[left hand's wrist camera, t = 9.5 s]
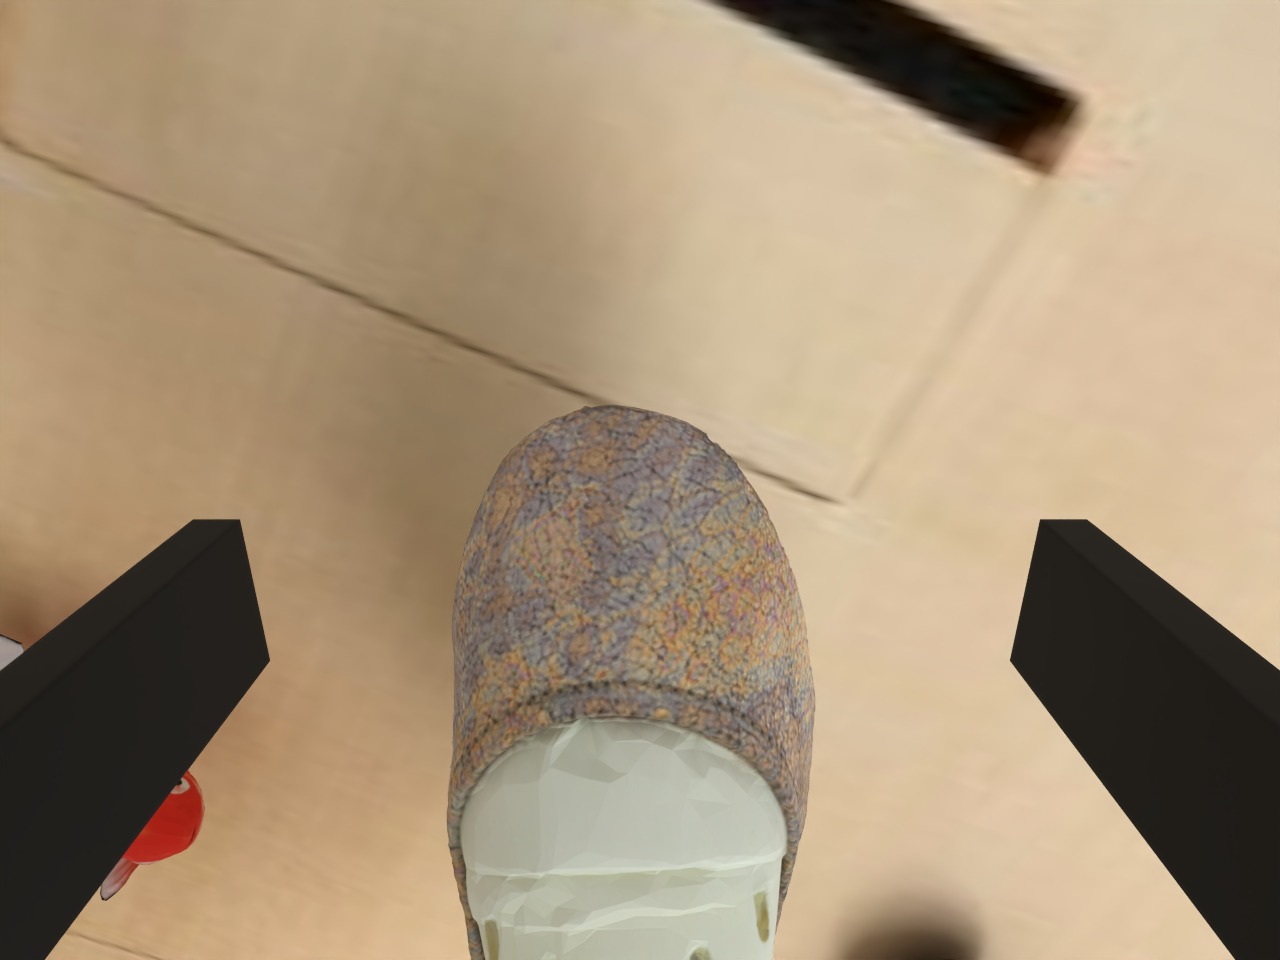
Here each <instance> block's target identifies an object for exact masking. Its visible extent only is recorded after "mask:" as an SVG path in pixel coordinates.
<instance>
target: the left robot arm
mask: <svg viewBox="0 0 1280 960" xmlns="http://www.w3.org/2000/svg"><path fill="white" fill-rule="evenodd" d="M269 661H270V658H269V653H268V649H267V644H266V639H265V635H264V630H263V625H262V621H261V616H260V611H259V607H258V602H257V597H256V593H255V588H254V583H253V579H252V574H251V569H250V565H249V560H248V555H247V551H246V546H245V541H244V537H243V532H242V527H241V522H240V519H193V520H192V521H191V522H189V523H188V524H187V525H185V526H184V527H183V528H182V529H180V530H179V531H178V532H177V533H175V534H174V535H173V536H171V537H170V538H169V539H168V540H166V541H165V542H164V543H162V544H161V545H160V546H159V547H157V548H156V549H155V550H154V551H152V552H151V553H150V554H148V555H147V556H146V557H145V558H143V559H142V560H141V561H139V562H138V563H137V564H136V565H134V566H133V567H132V568H131V569H129V570H128V571H127V572H125V573H124V574H123V575H122V576H120V577H119V578H118V579H116V580H115V581H114V582H113V583H111V584H110V585H109V586H108V587H106V588H105V589H104V590H102V591H101V592H100V593H99V594H97V595H96V596H95V597H93V598H92V599H91V600H90V601H88V602H87V603H86V604H85V605H83V606H82V607H81V608H79V609H78V610H77V611H76V612H74V613H73V614H72V615H70V616H69V617H68V618H67V619H65V620H64V621H63V622H62V623H60V624H59V625H58V626H56V627H55V628H54V629H53V630H51V631H50V632H49V633H47V634H46V635H45V636H44V637H42V638H41V639H40V640H39V641H37V642H36V643H35V644H33V645H32V646H31V647H30V648H28V649H27V650H26V651H24V652H23V653H22V654H21V655H19V656H18V657H17V658H16V659H14V660H13V661H12V662H10V663H9V664H8V665H7V666H5V667H4V668H3V669H1V670H0V960H45V959H46V957H47V956H48V955H49V953H50V952H51V951H52V949H53V948H54V947H55V945H56V944H57V943H58V941H59V940H60V939H61V937H62V936H63V935H64V933H65V932H66V931H67V929H68V928H69V927H70V926H71V924H72V923H73V922H74V920H75V919H76V918H77V916H78V915H79V914H80V912H81V911H82V910H83V908H84V907H85V906H86V904H87V903H88V902H89V900H90V899H91V898H92V896H93V895H94V894H95V892H96V891H97V890H98V888H99V887H100V886H101V884H102V883H103V882H104V880H105V879H106V878H107V876H108V875H109V874H110V872H111V871H112V870H113V868H114V867H115V866H116V864H117V863H118V862H119V860H120V859H121V858H122V856H123V855H124V854H125V853H126V851H127V850H128V849H129V847H130V846H131V845H132V843H133V842H134V841H135V839H136V838H137V837H138V835H139V834H140V833H141V831H142V830H143V829H144V827H145V826H146V825H147V823H148V822H149V821H150V819H151V818H152V817H153V815H154V814H155V813H156V811H157V810H158V809H159V807H160V806H161V805H162V803H163V802H164V801H165V799H166V798H167V797H168V795H169V794H170V793H171V791H172V790H173V789H174V787H175V786H176V785H177V783H178V782H179V781H180V780H181V778H182V777H183V776H184V774H185V773H186V772H187V770H188V769H189V768H190V766H191V765H192V764H193V762H194V761H195V760H196V758H197V757H198V756H199V754H200V753H201V752H202V750H203V749H204V748H205V746H206V745H207V744H208V742H209V741H210V740H211V738H212V737H213V736H214V734H215V733H216V732H217V730H218V729H219V728H220V726H221V725H222V724H223V722H224V721H225V720H226V718H227V717H228V716H229V714H230V713H231V712H232V711H233V709H234V708H235V707H236V705H237V704H238V703H239V701H240V700H241V699H242V697H243V696H244V695H245V693H246V692H247V691H248V689H249V688H250V687H251V685H252V684H253V683H254V681H255V680H256V679H257V677H258V676H259V675H260V673H261V672H262V671H263V669H264V668H265V667H266V665H267V664H268V663H269ZM1010 661H1011V663H1012V664H1013V665H1014V667H1015V668H1016V669H1017V671H1018V672H1019V673H1020V675H1021V676H1022V677H1023V679H1024V680H1025V681H1026V683H1027V684H1028V685H1029V687H1030V688H1031V689H1032V691H1033V692H1034V693H1035V695H1036V696H1037V697H1038V699H1039V700H1040V701H1041V703H1042V704H1043V705H1044V707H1045V708H1046V709H1047V711H1048V712H1049V713H1050V714H1051V716H1052V717H1053V718H1054V720H1055V721H1056V722H1057V724H1058V725H1059V726H1060V728H1061V729H1062V730H1063V732H1064V733H1065V734H1066V736H1067V737H1068V738H1069V740H1070V741H1071V742H1072V744H1073V745H1074V746H1075V748H1076V749H1077V750H1078V752H1079V753H1080V754H1081V756H1082V757H1083V758H1084V760H1085V761H1086V762H1087V764H1088V765H1089V766H1090V768H1091V769H1092V770H1093V772H1094V773H1095V774H1096V776H1097V777H1098V778H1099V780H1100V781H1101V782H1102V783H1103V785H1104V786H1105V787H1106V789H1107V790H1108V791H1109V793H1110V794H1111V795H1112V797H1113V798H1114V799H1115V801H1116V802H1117V803H1118V805H1119V806H1120V807H1121V809H1122V810H1123V811H1124V813H1125V814H1126V815H1127V817H1128V818H1129V819H1130V821H1131V822H1132V823H1133V825H1134V826H1135V827H1136V829H1137V830H1138V831H1139V833H1140V834H1141V835H1142V837H1143V838H1144V839H1145V841H1146V842H1147V843H1148V845H1149V846H1150V847H1151V849H1152V850H1153V851H1154V853H1155V854H1156V855H1157V856H1158V858H1159V859H1160V860H1161V862H1162V863H1163V864H1164V866H1165V867H1166V868H1167V870H1168V871H1169V872H1170V874H1171V875H1172V876H1173V878H1174V879H1175V880H1176V882H1177V883H1178V884H1179V886H1180V887H1181V888H1182V890H1183V891H1184V892H1185V894H1186V895H1187V896H1188V898H1189V899H1190V900H1191V902H1192V903H1193V904H1194V906H1195V907H1196V908H1197V910H1198V911H1199V912H1200V914H1201V915H1202V916H1203V918H1204V919H1205V920H1206V922H1207V923H1208V924H1209V926H1210V927H1211V928H1212V929H1213V931H1214V932H1215V933H1216V935H1217V936H1218V937H1219V939H1220V940H1221V941H1222V943H1223V944H1224V945H1225V947H1226V948H1227V949H1228V951H1229V952H1230V953H1231V955H1232V956H1233V957H1234V959H1235V960H1280V670H1279V669H1277V668H1276V667H1275V666H1273V665H1272V664H1271V663H1270V662H1268V661H1267V660H1266V659H1264V658H1263V657H1262V656H1261V655H1259V654H1258V653H1257V652H1256V651H1254V650H1253V649H1252V648H1250V647H1249V646H1248V645H1247V644H1245V643H1244V642H1243V641H1241V640H1240V639H1239V638H1238V637H1236V636H1235V635H1234V634H1233V633H1231V632H1230V631H1229V630H1227V629H1226V628H1225V627H1224V626H1222V625H1221V624H1220V623H1218V622H1217V621H1216V620H1215V619H1213V618H1212V617H1211V616H1210V615H1208V614H1207V613H1206V612H1204V611H1203V610H1202V609H1201V608H1199V607H1198V606H1197V605H1195V604H1194V603H1193V602H1192V601H1190V600H1189V599H1188V598H1187V597H1185V596H1184V595H1183V594H1181V593H1180V592H1179V591H1178V590H1176V589H1175V588H1174V587H1172V586H1171V585H1170V584H1169V583H1167V582H1166V581H1165V580H1164V579H1162V578H1161V577H1160V576H1158V575H1157V574H1156V573H1155V572H1153V571H1152V570H1151V569H1149V568H1148V567H1147V566H1146V565H1144V564H1143V563H1142V562H1141V561H1139V560H1138V559H1137V558H1135V557H1134V556H1133V555H1132V554H1130V553H1129V552H1128V551H1126V550H1125V549H1124V548H1123V547H1121V546H1120V545H1119V544H1118V543H1116V542H1115V541H1114V540H1112V539H1111V538H1110V537H1109V536H1107V535H1106V534H1105V533H1103V532H1102V531H1101V530H1100V529H1098V528H1097V527H1096V526H1095V525H1093V524H1092V523H1091V522H1089V521H1088V520H1087V519H1040V522H1039V527H1038V532H1037V537H1036V541H1035V546H1034V551H1033V555H1032V560H1031V565H1030V569H1029V574H1028V579H1027V583H1026V588H1025V593H1024V597H1023V602H1022V607H1021V611H1020V616H1019V621H1018V625H1017V630H1016V635H1015V639H1014V644H1013V649H1012V653H1011V658H1010Z"/></svg>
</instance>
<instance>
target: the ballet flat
mask: <svg viewBox="0 0 1280 960" xmlns="http://www.w3.org/2000/svg"><path fill="white" fill-rule="evenodd" d="M806 631H807V629H806V623H805V617H804V612H803V607H802V604H801V600H800V596H799V592H798V588H797V584H796V580H795V577H794V575H793V572H792V569H791V568H790V566H789V561H788V558H787V556H786V554H785V551H784V548H783V547H782V546H781V544H780V541H779V538H778V535H777V533H776V530H775V527H774V525H773V523H772V522H771V520H770V519H769V515H768V511H767V509H766V508H765V506H764V504H763V503H762V501H761V500H760V498H759V497H758V495H757V493H756V492H755V490H754V488H753V487H752V486H751V484H750V483H749V482H748V480H747V479H746V477H745V476H744V474H743V473H742V471H741V470H740V469H739V468H738V466H737V463H736V462H734V461H733V460H732V458H731V456H729V455H728V454H727V453H726V452H725V450H723V449H721V447H720V446H719V445H718V444H717V443H713V442H712V441H711V440H709V439H708V436H707V434H706V433H704V432H703V431H701V430H699V429H697V428H696V427H694V426H692V425H690V424H689V423H687V422H684V421H682V420H679V419H676V418H673V417H671V416H667V415H664V414H660V413H657V412H653V411H648V410H644V409H639V408H634V407H626V406H618V405H605V406H598V407H593V408H590V407H586V406H585V407H584V408H582V409H581V410H578V411H574V412H572V413H571V414H568V415H565V416H563V417H560V418H555V419H553V420H551V421H549V422H547V423H546V424H544V425H543V426H541V427H540V428H538V429H537V430H535V431H534V432H532V433H531V434H530V435H528V436H527V437H525V438H524V439H523V440H522V441H521V442H520V443H519V444H518V445H517V446H515V447H514V448H513V449H512V450H511V451H510V452H509V454H508V455H507V456H506V457H505V458H504V459H503V461H502V463H501V464H500V466H499V468H498V470H497V472H496V474H495V476H494V477H493V479H492V481H491V483H490V485H489V488H488V489H487V490H486V492H485V495H484V497H483V499H482V502H481V505H480V508H479V509H478V511H477V514H476V516H475V519H474V522H473V525H472V529H471V532H470V535H469V537H468V540H467V542H466V545H465V548H464V554H463V560H462V563H461V566H460V571H459V576H458V581H457V587H456V593H455V600H454V608H453V619H452V635H453V648H454V671H455V681H454V719H453V757H452V764H451V772H450V782H449V790H448V810H447V831H448V837H449V848H450V853H451V857H452V864H453V868H454V875H455V879H456V881H457V886H458V891H459V897H460V901H461V904H462V906H463V909H464V913H465V920H466V926H467V934H468V943H469V951H470V955H471V960H773V950H774V940H775V934H776V930H777V926H778V922H779V919H780V915H781V909H782V905H783V902H784V899H785V897H786V894H787V889H788V886H789V883H790V880H791V876H792V871H793V867H794V864H795V860H796V855H797V849H798V843H799V840H800V839H801V835H802V831H803V828H804V823H805V818H806V810H807V797H808V790H809V774H810V768H811V759H812V742H813V726H814V712H815V692H814V685H813V678H812V669H811V666H810V659H809V651H808V640H807V637H806Z"/></svg>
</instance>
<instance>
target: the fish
mask: <svg viewBox="0 0 1280 960" xmlns="http://www.w3.org/2000/svg"><path fill="white" fill-rule="evenodd" d="M23 652H24V650H23V647H22V643H20V642H18V641H15V640H13V639H10V638H8V637H6V636H3V635H1V634H0V670H1V669H3V668H4V667H5V666H7V665H8V664H9V663H10V662H12V661H13V660H14V659H16V658H17V657H18V656H19V655H21V654H22V653H23ZM204 810H205V807H204V802H203V797H202V792H201V789H200V787H199V785H198V783H197V781H196V780H195V778H194V777H193V776H192V775H191V774H190V773H189V771H188V770H187V772H186V773H185V774H184V776H183V777H182V778H181V780H180V781H179V782H178V783H177V785H176V786H175V787H174V789H173V790H172V791H171V793H170V794H169V795H168V797H167V798H166V799H165V801H164V802H163V803H162V805H161V806H160V807H159V809H158V810H157V811H156V813H155V814H154V815H153V817H152V818H151V819H150V821H149V822H148V823H147V825H146V826H145V827H144V829H143V830H142V831H141V833H140V834H139V835H138V837H137V838H136V839H135V841H134V842H133V843H132V845H131V846H130V847H129V849H128V850H127V851H126V853H125V854H124V855H123V856H122V858H121V859H120V860H119V862H118V863H117V864H116V866H115V867H114V868H113V870H112V871H111V872H110V874H109V875H108V876H107V878H106V879H105V880H104V882H103V883H102V884H101V891H100V895H101V898H102V900H105V901H107V900H108V899H109V898H110V897H112V896H113V895H114V894H116V893H117V892H118V891H119V890H120V889H121V887H122V886H123V885H124V884H125V883H126V882H127V880H128V878H129V877H130V875H131V874H132V872H133V871H134V870H135V869H136V868H137V866H138V865H139V864H140V865H149V864H153V863H155V862H158V861H160V860H162V859H165V858H167V857H170V856H172V855H175V854H177V853H180V852H182V851H184V850H186V849H187V848H188V847H189V846H190V845H191V844H192V843H193V842H194V840H195V839H196V837H197V835H198V833H199V832H200V830H201V827H202V822H203V817H204Z"/></svg>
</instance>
